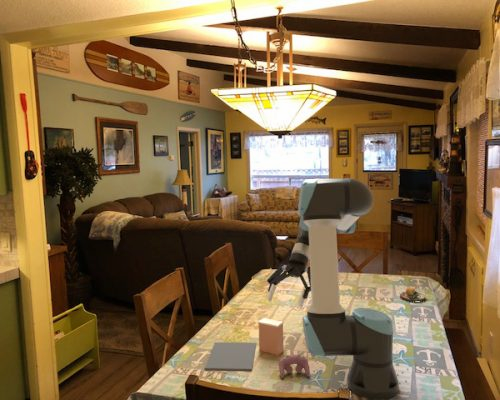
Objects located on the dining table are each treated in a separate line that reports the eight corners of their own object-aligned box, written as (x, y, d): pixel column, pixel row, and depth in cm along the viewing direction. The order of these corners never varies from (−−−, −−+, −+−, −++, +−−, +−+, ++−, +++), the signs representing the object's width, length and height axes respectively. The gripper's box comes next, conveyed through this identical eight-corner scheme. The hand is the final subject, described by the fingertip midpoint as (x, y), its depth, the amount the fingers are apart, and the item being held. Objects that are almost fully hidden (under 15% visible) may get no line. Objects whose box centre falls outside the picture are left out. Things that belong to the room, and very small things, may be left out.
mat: (251, 370, 140) (251, 368, 140) (204, 369, 142) (204, 368, 141) (256, 344, 160) (256, 342, 160) (214, 343, 161) (214, 342, 161)
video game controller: (308, 376, 138) (306, 354, 141) (311, 377, 134) (309, 353, 137) (279, 378, 138) (277, 355, 141) (280, 378, 134) (278, 355, 136)
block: (264, 346, 158) (264, 318, 157) (283, 350, 154) (282, 321, 153) (259, 350, 155) (258, 321, 154) (278, 355, 151) (277, 325, 150)
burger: (429, 302, 200) (429, 287, 199) (404, 303, 200) (404, 288, 200) (419, 294, 212) (420, 280, 211) (396, 295, 212) (396, 280, 212)
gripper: (331, 264, 169) (316, 312, 158) (276, 258, 182) (260, 302, 171) (325, 254, 164) (310, 303, 153) (270, 248, 177) (252, 293, 166)
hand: (284, 302), depth 162 cm, fingers open, 13 cm apart
